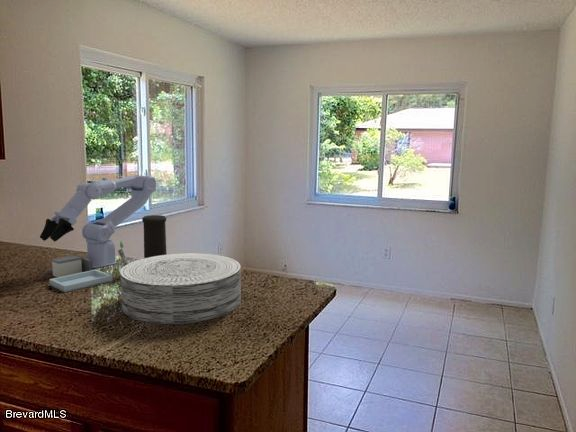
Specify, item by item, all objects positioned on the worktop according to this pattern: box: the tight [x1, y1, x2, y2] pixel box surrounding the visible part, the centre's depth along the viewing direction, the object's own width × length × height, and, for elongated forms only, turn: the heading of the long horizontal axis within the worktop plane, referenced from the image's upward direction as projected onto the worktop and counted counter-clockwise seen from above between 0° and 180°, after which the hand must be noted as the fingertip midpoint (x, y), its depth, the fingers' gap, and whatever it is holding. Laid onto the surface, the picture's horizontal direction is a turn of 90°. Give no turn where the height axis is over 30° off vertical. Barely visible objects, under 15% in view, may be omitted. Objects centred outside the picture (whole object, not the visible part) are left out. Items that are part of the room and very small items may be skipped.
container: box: [141, 214, 168, 259], centre depth 173 cm, size 9×9×20 cm
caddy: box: [51, 254, 82, 278], centre depth 165 cm, size 8×5×6 cm, turn 139°
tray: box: [48, 269, 113, 293], centre depth 156 cm, size 16×11×2 cm
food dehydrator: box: [117, 240, 242, 325], centre depth 139 cm, size 38×34×18 cm
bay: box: [44, 254, 93, 275], centre depth 166 cm, size 11×13×5 cm
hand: (47, 239), depth 160 cm, fingers open, 7 cm apart
